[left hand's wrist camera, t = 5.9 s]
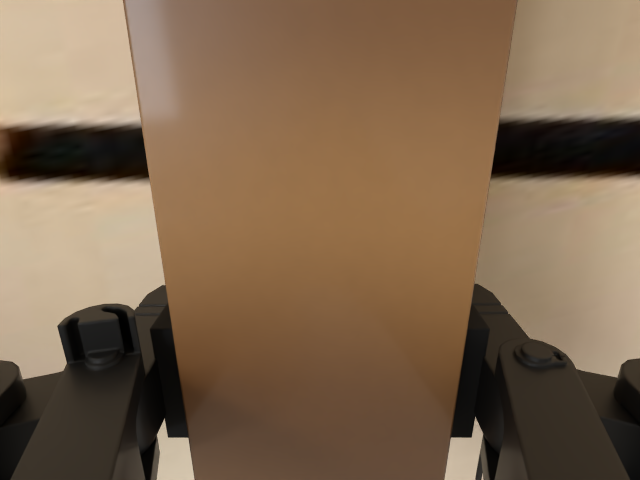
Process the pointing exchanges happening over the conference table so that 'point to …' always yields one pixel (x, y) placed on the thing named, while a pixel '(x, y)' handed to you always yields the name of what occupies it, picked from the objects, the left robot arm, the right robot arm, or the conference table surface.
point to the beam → (319, 221)
